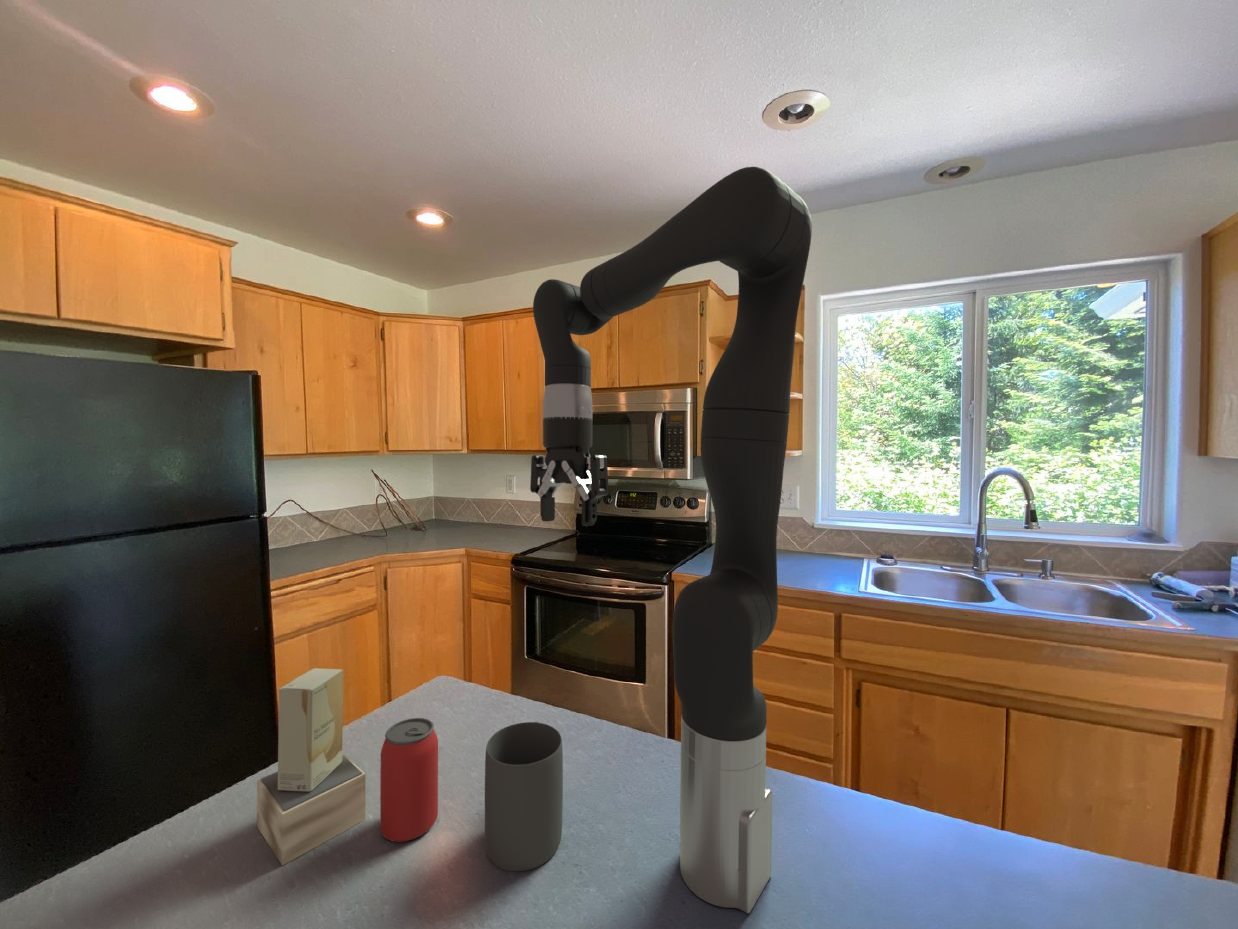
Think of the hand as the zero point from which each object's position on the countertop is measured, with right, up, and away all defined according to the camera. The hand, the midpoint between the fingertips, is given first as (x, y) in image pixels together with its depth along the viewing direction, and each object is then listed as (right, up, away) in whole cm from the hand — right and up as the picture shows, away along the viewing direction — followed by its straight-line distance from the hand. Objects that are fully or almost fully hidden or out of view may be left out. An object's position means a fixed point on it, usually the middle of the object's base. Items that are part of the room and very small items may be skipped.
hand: (567, 523), depth 74 cm
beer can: (-18, -36, -14) cm, 43 cm away
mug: (-3, -36, -14) cm, 39 cm away
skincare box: (-30, -30, -13) cm, 45 cm away
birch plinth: (-30, -36, -13) cm, 49 cm away
